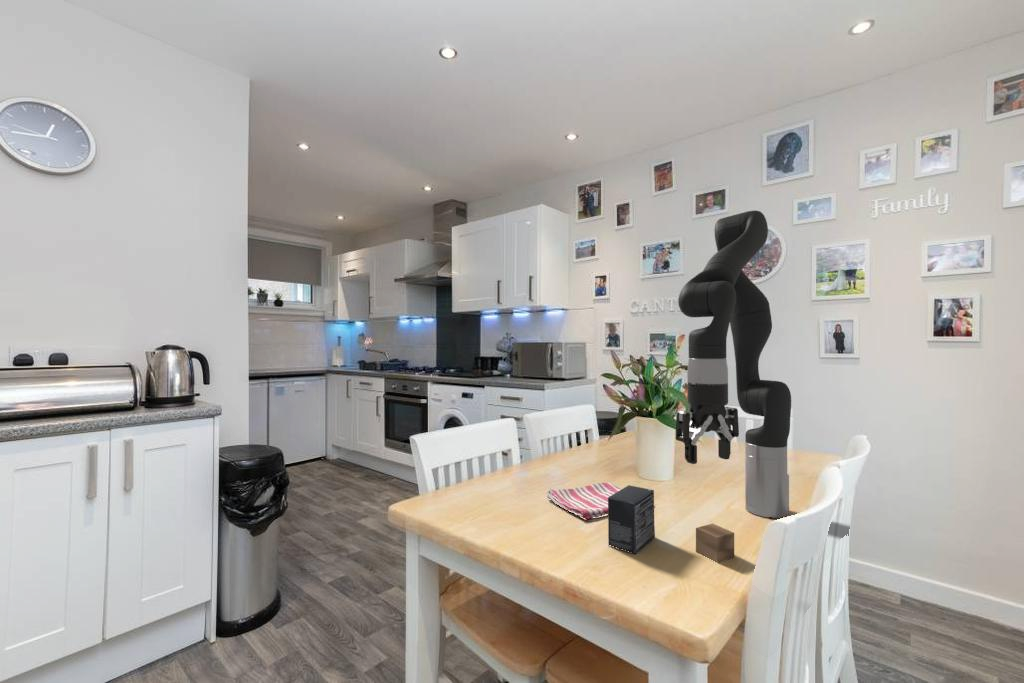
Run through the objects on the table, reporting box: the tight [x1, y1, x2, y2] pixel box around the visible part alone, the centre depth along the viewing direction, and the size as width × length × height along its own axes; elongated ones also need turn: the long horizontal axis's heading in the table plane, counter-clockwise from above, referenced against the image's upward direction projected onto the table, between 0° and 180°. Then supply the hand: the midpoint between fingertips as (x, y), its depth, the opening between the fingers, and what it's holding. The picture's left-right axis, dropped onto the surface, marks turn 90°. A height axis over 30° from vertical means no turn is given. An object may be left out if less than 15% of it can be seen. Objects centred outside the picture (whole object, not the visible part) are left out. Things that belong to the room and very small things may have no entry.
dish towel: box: [546, 481, 623, 520], centre depth 118 cm, size 17×23×4 cm
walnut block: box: [695, 523, 735, 563], centre depth 89 cm, size 5×5×5 cm
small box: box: [607, 485, 656, 554], centre depth 95 cm, size 11×6×10 cm, turn 141°
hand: (707, 460), depth 89 cm, fingers open, 8 cm apart
